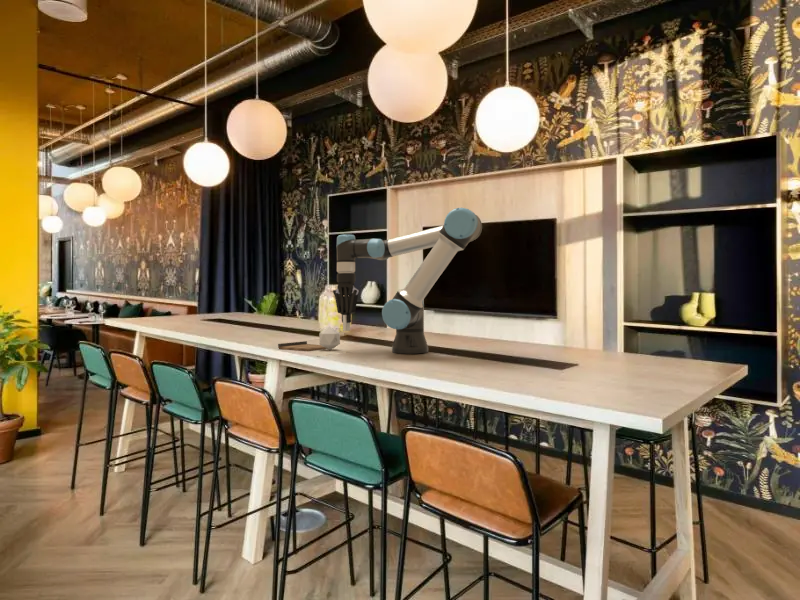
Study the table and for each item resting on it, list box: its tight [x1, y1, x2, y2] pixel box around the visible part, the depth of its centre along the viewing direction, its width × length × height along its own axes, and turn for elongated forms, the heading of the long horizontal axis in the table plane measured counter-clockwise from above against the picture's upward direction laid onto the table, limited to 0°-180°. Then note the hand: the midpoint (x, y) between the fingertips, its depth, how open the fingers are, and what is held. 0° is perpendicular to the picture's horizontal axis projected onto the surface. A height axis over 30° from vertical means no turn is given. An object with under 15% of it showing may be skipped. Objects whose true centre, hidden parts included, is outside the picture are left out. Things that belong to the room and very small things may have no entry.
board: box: [277, 340, 328, 352], centre depth 235 cm, size 18×16×2 cm
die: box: [318, 326, 341, 351], centre depth 226 cm, size 8×9×10 cm
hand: (346, 330), depth 221 cm, fingers closed
